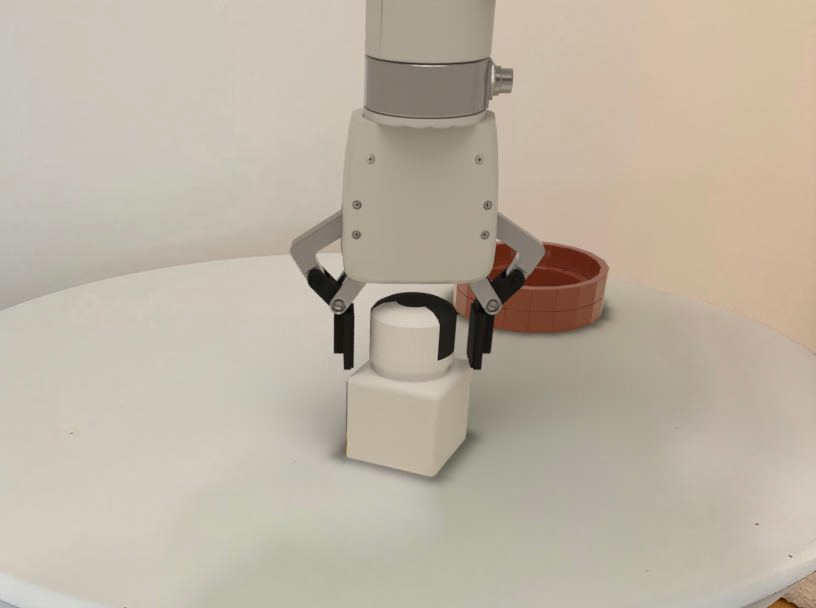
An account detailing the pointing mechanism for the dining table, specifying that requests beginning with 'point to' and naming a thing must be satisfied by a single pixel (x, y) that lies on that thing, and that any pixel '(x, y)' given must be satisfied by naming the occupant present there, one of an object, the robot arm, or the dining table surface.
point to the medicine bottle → (409, 387)
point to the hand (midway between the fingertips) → (410, 361)
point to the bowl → (547, 291)
